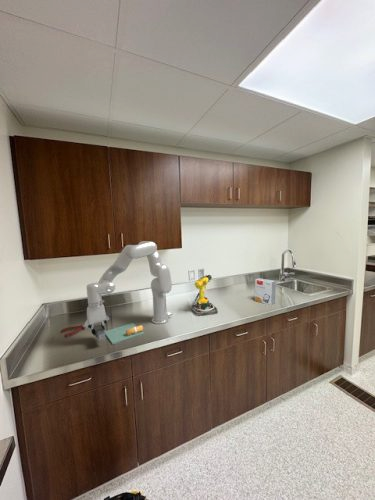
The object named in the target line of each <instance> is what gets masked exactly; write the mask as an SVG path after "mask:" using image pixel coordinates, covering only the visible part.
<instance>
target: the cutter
mask: <svg viewBox="0 0 375 500" xmlns="http://www.w3.org/2000/svg"><path fill="white" fill-rule="evenodd" d="M94 329H95V335H94V336H95V338H97V340H98V341H99V342H100V341H103V340H106V338H107V336H106V335H105V332H104V331H105V330H103V327H102V326H101V324H100V323H99V324H95V325H94Z"/></svg>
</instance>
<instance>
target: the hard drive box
mask: <svg viewBox="0 0 375 500" xmlns="http://www.w3.org/2000/svg"><path fill="white" fill-rule="evenodd" d="M254 302H257V303H261V304H265V305H269V306H272V305H275V304H276V280H273V279H268V278H267V279H265V278H260V277H258V278H255V279H254Z"/></svg>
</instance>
